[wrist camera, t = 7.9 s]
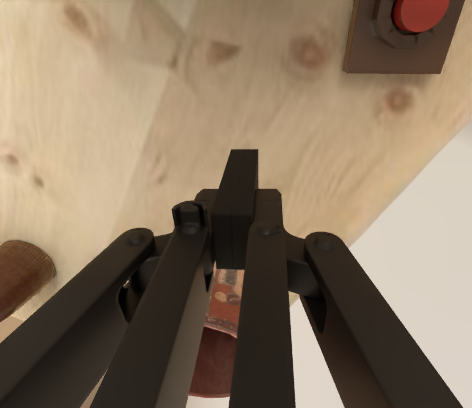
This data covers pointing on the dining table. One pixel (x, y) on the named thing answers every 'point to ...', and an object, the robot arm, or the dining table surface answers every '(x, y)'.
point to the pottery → (218, 337)
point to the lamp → (21, 275)
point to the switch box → (396, 41)
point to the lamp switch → (418, 14)
